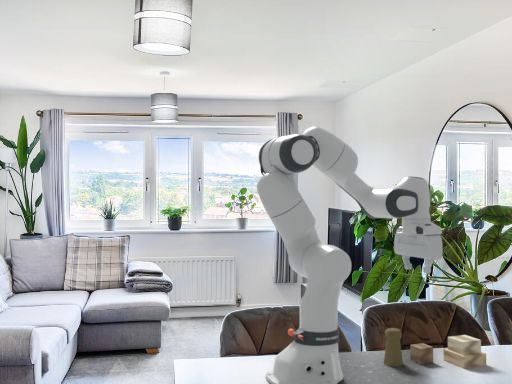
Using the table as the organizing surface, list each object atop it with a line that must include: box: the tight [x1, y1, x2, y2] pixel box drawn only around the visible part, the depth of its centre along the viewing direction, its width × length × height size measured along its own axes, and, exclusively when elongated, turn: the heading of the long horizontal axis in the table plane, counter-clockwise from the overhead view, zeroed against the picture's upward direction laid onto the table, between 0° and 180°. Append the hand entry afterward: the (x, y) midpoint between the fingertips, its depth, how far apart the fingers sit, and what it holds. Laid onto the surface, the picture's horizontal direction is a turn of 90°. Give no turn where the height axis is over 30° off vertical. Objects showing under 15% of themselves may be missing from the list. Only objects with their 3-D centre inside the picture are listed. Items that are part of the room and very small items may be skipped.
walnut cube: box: [409, 342, 434, 365], centre depth 176 cm, size 5×5×5 cm
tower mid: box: [447, 334, 482, 355], centre depth 175 cm, size 7×7×4 cm
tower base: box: [443, 348, 487, 369], centre depth 175 cm, size 9×9×4 cm
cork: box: [383, 327, 404, 368], centre depth 174 cm, size 6×6×11 cm
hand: (417, 271), depth 175 cm, fingers open, 8 cm apart
